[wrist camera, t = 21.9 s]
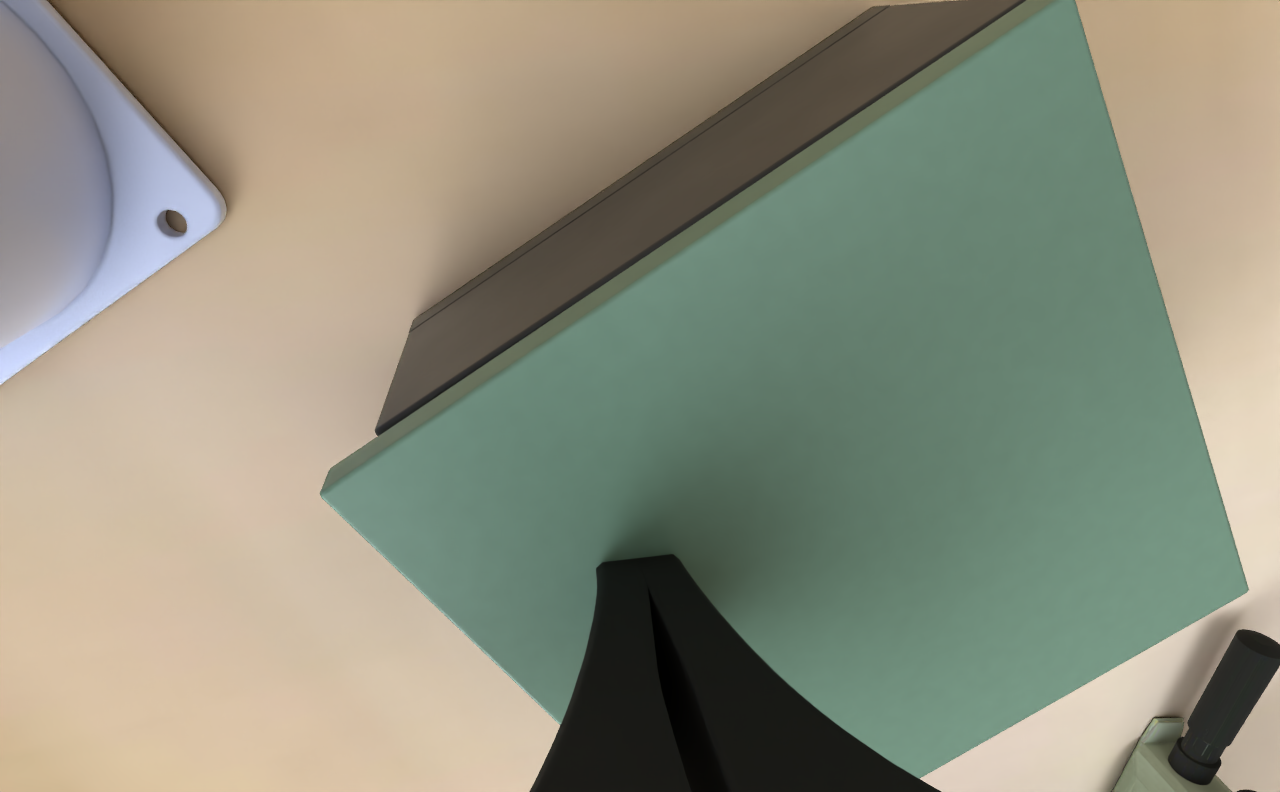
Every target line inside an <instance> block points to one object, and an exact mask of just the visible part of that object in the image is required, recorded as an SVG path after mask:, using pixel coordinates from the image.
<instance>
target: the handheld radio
mask: <svg viewBox="0 0 1280 792" xmlns="http://www.w3.org/2000/svg"><path fill="white" fill-rule="evenodd" d="M1279 666H1280V645H1279V644H1278V643H1277V642H1276V641H1274V640H1273V639H1271V638H1269V637H1267V636H1265V635H1263V634H1261V633H1258V632H1255V631H1252V630H1245V629H1242V630H1238V631H1237V633H1236V634H1235V636H1234V638H1233V640H1232V642H1231V643H1230V645H1229V647H1228V649H1227V651H1226V653H1225V654H1224V656H1223V658H1222V660H1221V662H1220V663H1219V665H1218V667H1217V669H1216V671H1215V673H1214V674H1213V676H1212V678H1211V680H1210V682H1209V683H1208V685H1207V687H1206V689H1205V691H1204V693H1203V694H1202V696H1201V698H1200V700H1199V702H1198V703H1197V705H1196V707H1195V709H1194V711H1193V713H1192V714H1191V716H1190V718H1189V720H1188V726H1189V730H1188V731H1187V733H1186V735H1185V737H1181V734H1182V731H1183V726H1184V722H1183V719H1184V718H1154V719H1153V720H1152V722H1151V723H1150V724H1149V726H1148V728H1147V729H1146V731H1145V732H1144V734H1143V735H1142V737H1141V738H1140V740H1139V742H1138V743H1137V745H1136V747H1135V749H1134V751H1133V753H1132V755H1131V757H1130V759H1129V761H1128V763H1127V765H1126V767H1125V768H1124V770H1123V772H1122V774H1121V776H1120V778H1119V780H1118V782H1117V784H1116V786H1115V788H1114V790H1113V791H1112V792H1232V791H1231V790H1230V789H1229V788H1228V787H1227V786H1226V785H1225V784H1224V783H1223V782H1222V781H1221V780H1220V779H1219V778H1218V777H1217V776H1216V775H1215V774H1216V773H1217V771H1218V769H1219V768H1220V766H1221V759H1220V756H1221V755H1222V753H1223V751H1224V749H1225V748H1226V746H1229V745H1230V744H1231V743H1232V741H1233V740H1234V738H1235V736H1236V735H1237V733H1238V732H1239V730H1240V728H1241V727H1242V725H1243V724H1244V722H1245V720H1246V719H1247V717H1248V716H1249V714H1250V713H1251V711H1252V709H1253V708H1254V706H1255V705H1256V703H1257V701H1258V700H1259V698H1260V697H1261V695H1262V693H1263V692H1264V690H1265V689H1266V687H1267V685H1268V684H1269V682H1270V681H1271V679H1272V677H1273V676H1274V674H1275V673H1276V671H1277V669H1278V668H1279ZM1237 792H1256V791H1252V790H1239V791H1237Z"/></svg>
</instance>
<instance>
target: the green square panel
mask: <svg viewBox="0 0 1280 792" xmlns="http://www.w3.org/2000/svg"><path fill="white" fill-rule="evenodd" d="M320 495H321V497H322V499H323V500H325V501H326V502H327V503H328V504H329V505H330V506H331V507H332V508H333V509H334V510H335V511H336V512H337V513H338V514H339V515H340V516H341V517H342V518H343V519H344V520H346V521H347V522H348V523H349V524H350V525H351V526H352V527H353V528H354V529H355V530H356V531H357V532H358V533H359V534H360V535H361V536H362V537H363V538H364V539H365V540H367V541H368V542H369V543H370V544H371V545H372V546H373V547H374V548H375V549H376V550H377V551H378V552H379V553H380V554H381V555H382V556H383V557H384V558H385V559H386V560H387V561H389V562H390V563H391V564H392V565H393V566H394V567H395V568H396V569H397V570H398V571H399V572H400V573H401V574H402V575H403V576H404V577H405V578H406V579H407V580H408V581H410V582H411V583H412V584H413V585H414V586H415V587H416V588H417V589H418V590H419V591H420V592H421V593H422V594H423V595H424V596H425V597H426V598H427V599H428V600H429V601H431V602H432V603H433V604H434V605H435V606H436V607H437V608H438V609H439V610H440V611H441V612H442V613H443V614H444V615H445V616H446V617H447V618H448V619H449V620H450V621H452V622H453V623H454V624H455V625H456V626H457V627H458V628H459V629H460V630H461V631H462V632H463V633H464V634H465V635H466V636H467V637H468V638H469V639H470V640H471V641H472V642H474V643H475V644H476V645H477V646H478V647H479V648H480V649H481V650H482V651H483V652H484V653H485V654H486V655H487V656H488V657H489V658H490V659H491V660H492V661H493V662H495V663H496V664H497V665H498V666H499V667H500V668H501V669H502V670H503V671H504V672H505V673H506V674H507V675H508V676H509V677H510V678H511V679H512V680H513V681H514V682H516V683H517V684H518V685H519V686H520V687H521V688H522V689H523V690H524V691H525V692H526V693H527V694H528V695H529V696H530V697H531V698H532V699H533V700H534V701H535V702H536V703H538V704H539V705H540V706H541V707H542V708H543V709H544V710H545V711H546V712H547V713H548V714H549V715H550V716H551V717H552V718H553V719H554V720H555V721H556V722H557V723H559V724H560V725H561V723H562V721H563V718H564V716H565V713H566V710H567V708H568V705H569V702H570V700H571V697H572V694H573V691H574V688H575V685H576V681H577V678H578V675H579V672H580V669H581V665H582V662H583V659H584V656H585V652H586V648H587V643H588V639H589V635H590V630H591V626H592V622H593V616H594V610H595V604H596V595H597V578H596V568H597V567H598V566H599V565H600V564H601V563H602V562H608V561H617V560H625V559H634V558H643V557H652V556H660V555H669V554H674V555H675V556H676V557H677V558H679V559H680V561H681V562H682V564H683V565H684V567H685V568H686V570H687V571H688V572H689V574H690V575H691V577H692V578H693V579H694V581H695V582H696V583H697V585H698V586H699V587H700V589H701V590H702V591H703V593H704V594H705V595H706V596H707V598H708V599H709V600H710V601H711V603H712V604H713V605H714V606H715V608H716V609H717V610H718V611H719V612H720V614H721V615H722V616H723V617H724V618H725V619H726V620H727V621H728V623H729V624H730V625H731V626H732V627H733V628H734V629H735V630H736V632H737V633H738V634H739V635H740V636H741V637H742V638H743V639H744V641H745V642H746V643H747V644H748V645H749V646H750V647H751V648H752V649H753V650H754V651H755V652H756V653H757V654H758V655H759V656H760V657H761V658H762V659H763V660H764V661H765V662H766V663H767V664H768V665H769V666H770V667H771V668H772V669H773V670H774V671H775V672H776V673H777V674H778V675H779V676H780V677H781V678H783V679H784V680H785V681H786V682H787V683H788V684H789V685H790V686H791V687H792V688H794V689H795V690H796V691H797V692H798V693H799V694H800V695H802V696H803V697H804V698H805V699H806V700H808V701H809V702H810V703H811V704H812V705H813V706H815V707H816V708H817V709H818V710H820V711H821V712H822V713H823V714H825V715H826V716H827V717H828V718H830V719H831V720H832V721H834V722H835V723H836V724H837V725H839V726H840V727H841V728H843V729H844V730H845V731H847V732H848V733H850V734H851V735H853V736H854V737H855V738H857V739H858V740H860V741H861V742H863V743H864V744H866V745H867V746H869V747H870V748H871V749H873V750H874V751H876V752H877V753H879V754H880V755H882V756H883V757H884V758H886V759H887V760H889V761H890V762H892V763H894V764H895V765H897V766H899V767H900V768H902V769H904V770H905V771H907V772H909V773H910V774H912V775H914V776H915V777H917V778H921V777H923V776H925V775H927V774H928V773H930V772H932V771H934V770H935V769H937V768H939V767H941V766H942V765H944V764H946V763H948V762H949V761H951V760H953V759H955V758H956V757H958V756H960V755H962V754H963V753H965V752H967V751H969V750H971V749H972V748H974V747H976V746H978V745H979V744H981V743H983V742H985V741H986V740H988V739H990V738H992V737H993V736H995V735H997V734H999V733H1000V732H1002V731H1004V730H1006V729H1007V728H1009V727H1011V726H1013V725H1015V724H1016V723H1018V722H1020V721H1022V720H1023V719H1025V718H1027V717H1029V716H1030V715H1032V714H1034V713H1036V712H1037V711H1039V710H1041V709H1043V708H1044V707H1046V706H1048V705H1050V704H1051V703H1053V702H1055V701H1057V700H1059V699H1060V698H1062V697H1064V696H1066V695H1067V694H1069V693H1071V692H1073V691H1074V690H1076V689H1078V688H1080V687H1081V686H1083V685H1085V684H1087V683H1088V682H1090V681H1092V680H1094V679H1096V678H1097V677H1099V676H1101V675H1103V674H1104V673H1106V672H1108V671H1110V670H1111V669H1113V668H1115V667H1117V666H1118V665H1120V664H1122V663H1124V662H1125V661H1127V660H1129V659H1131V658H1132V657H1134V656H1136V655H1138V654H1140V653H1141V652H1143V651H1145V650H1147V649H1148V648H1150V647H1152V646H1154V645H1155V644H1157V643H1159V642H1161V641H1162V640H1164V639H1166V638H1168V637H1169V636H1171V635H1173V634H1175V633H1176V632H1178V631H1180V630H1182V629H1184V628H1185V627H1187V626H1189V625H1191V624H1192V623H1194V622H1196V621H1198V620H1199V619H1201V618H1203V617H1205V616H1206V615H1208V614H1210V613H1212V612H1213V611H1215V610H1217V609H1219V608H1220V607H1222V606H1224V605H1226V604H1228V603H1229V602H1231V601H1233V600H1235V599H1236V598H1238V597H1240V596H1242V595H1243V594H1245V593H1247V592H1248V590H1249V589H1248V585H1247V582H1246V579H1245V575H1244V572H1243V568H1242V565H1241V562H1240V558H1239V555H1238V551H1237V548H1236V545H1235V541H1234V538H1233V534H1232V531H1231V528H1230V524H1229V521H1228V517H1227V514H1226V511H1225V507H1224V504H1223V501H1222V497H1221V494H1220V490H1219V487H1218V484H1217V480H1216V477H1215V473H1214V470H1213V467H1212V463H1211V460H1210V456H1209V453H1208V450H1207V446H1206V443H1205V439H1204V436H1203V433H1202V429H1201V426H1200V423H1199V419H1198V416H1197V412H1196V409H1195V406H1194V402H1193V399H1192V395H1191V392H1190V389H1189V385H1188V382H1187V378H1186V375H1185V372H1184V368H1183V365H1182V361H1181V358H1180V355H1179V351H1178V348H1177V345H1176V341H1175V338H1174V334H1173V331H1172V328H1171V324H1170V321H1169V317H1168V314H1167V311H1166V307H1165V304H1164V300H1163V297H1162V294H1161V290H1160V287H1159V284H1158V280H1157V277H1156V273H1155V270H1154V267H1153V263H1152V260H1151V256H1150V253H1149V250H1148V246H1147V243H1146V239H1145V236H1144V233H1143V229H1142V226H1141V222H1140V219H1139V216H1138V212H1137V209H1136V206H1135V202H1134V199H1133V195H1132V192H1131V189H1130V185H1129V182H1128V178H1127V175H1126V172H1125V168H1124V165H1123V161H1122V158H1121V155H1120V151H1119V148H1118V144H1117V141H1116V138H1115V134H1114V131H1113V128H1112V124H1111V121H1110V117H1109V114H1108V111H1107V107H1106V104H1105V100H1104V97H1103V94H1102V90H1101V87H1100V83H1099V80H1098V77H1097V73H1096V70H1095V66H1094V63H1093V60H1092V56H1091V53H1090V50H1089V46H1088V43H1087V39H1086V36H1085V33H1084V29H1083V26H1082V22H1081V19H1080V16H1079V12H1078V9H1077V5H1076V2H1075V0H1026V1H1025V2H1023V3H1022V4H1020V5H1019V6H1017V7H1016V8H1014V9H1013V10H1011V11H1010V12H1008V13H1007V14H1005V15H1004V16H1002V17H1001V18H999V19H998V20H997V21H995V22H994V23H992V24H991V25H989V26H988V27H986V28H985V29H983V30H982V31H980V32H979V33H977V34H976V35H974V36H973V37H971V38H970V39H968V40H967V41H965V42H964V43H962V44H961V45H959V46H958V47H956V48H955V49H953V50H952V51H950V52H949V53H947V54H946V55H944V56H943V57H942V58H940V59H939V60H937V61H936V62H934V63H933V64H931V65H930V66H928V67H927V68H925V69H924V70H922V71H921V72H919V73H918V74H916V75H915V76H913V77H912V78H910V79H909V80H907V81H906V82H904V83H903V84H901V85H900V86H898V87H897V88H895V89H894V90H892V91H891V92H889V93H888V94H886V95H885V96H884V97H882V98H881V99H879V100H878V101H876V102H875V103H873V104H872V105H870V106H869V107H867V108H866V109H864V110H863V111H861V112H860V113H858V114H857V115H855V116H854V117H852V118H851V119H849V120H848V121H846V122H845V123H843V124H842V125H840V126H839V127H837V128H836V129H834V130H833V131H831V132H830V133H828V134H827V135H826V136H824V137H823V138H821V139H820V140H818V141H817V142H815V143H814V144H812V145H811V146H809V147H808V148H806V149H805V150H803V151H802V152H800V153H799V154H797V155H796V156H794V157H793V158H791V159H790V160H788V161H787V162H785V163H784V164H782V165H781V166H779V167H778V168H776V169H775V170H773V171H772V172H770V173H769V174H768V175H766V176H765V177H763V178H762V179H760V180H759V181H757V182H756V183H754V184H753V185H751V186H750V187H748V188H747V189H745V190H744V191H742V192H741V193H739V194H738V195H736V196H735V197H733V198H732V199H730V200H729V201H727V202H726V203H724V204H723V205H721V206H720V207H718V208H717V209H715V210H714V211H712V212H711V213H710V214H708V215H707V216H705V217H704V218H702V219H701V220H699V221H698V222H696V223H695V224H693V225H692V226H690V227H689V228H687V229H686V230H684V231H683V232H681V233H680V234H678V235H677V236H675V237H674V238H672V239H671V240H669V241H668V242H666V243H665V244H663V245H662V246H660V247H659V248H657V249H656V250H654V251H653V252H652V253H650V254H649V255H647V256H646V257H644V258H643V259H641V260H640V261H638V262H637V263H635V264H634V265H632V266H631V267H629V268H628V269H626V270H625V271H623V272H622V273H620V274H619V275H617V276H616V277H614V278H613V279H611V280H610V281H608V282H607V283H605V284H604V285H602V286H601V287H599V288H598V289H596V290H595V291H594V292H592V293H591V294H589V295H588V296H586V297H585V298H583V299H582V300H580V301H579V302H577V303H576V304H574V305H573V306H571V307H570V308H568V309H567V310H565V311H564V312H562V313H561V314H559V315H558V316H556V317H555V318H553V319H552V320H550V321H549V322H547V323H546V324H544V325H543V326H541V327H540V328H539V329H537V330H536V331H534V332H533V333H531V334H530V335H528V336H527V337H525V338H524V339H522V340H521V341H519V342H518V343H516V344H515V345H513V346H512V347H510V348H509V349H507V350H506V351H504V352H503V353H501V354H500V355H498V356H497V357H495V358H494V359H492V360H491V361H489V362H488V363H486V364H485V365H483V366H482V367H481V368H479V369H478V370H476V371H475V372H473V373H472V374H470V375H469V376H467V377H466V378H464V379H463V380H461V381H460V382H458V383H457V384H455V385H454V386H452V387H451V388H449V389H448V390H446V391H445V392H443V393H442V394H440V395H439V396H437V397H436V398H434V399H433V400H431V401H430V402H428V403H427V404H425V405H424V406H423V407H421V408H420V409H418V410H417V411H415V412H414V413H412V414H411V415H409V416H408V417H406V418H405V419H403V420H402V421H400V422H399V423H397V424H396V425H394V426H393V427H391V428H390V429H388V430H387V431H385V432H384V433H382V434H381V435H379V436H378V437H376V438H375V439H373V440H372V441H370V442H369V443H367V444H366V445H365V446H363V447H362V448H360V449H359V450H357V451H356V452H354V453H353V454H351V455H350V456H348V457H347V458H345V459H344V460H342V461H341V462H339V463H338V464H336V465H335V466H333V467H332V468H330V470H329V472H328V474H327V477H326V479H325V482H324V484H323V487H322V489H321V492H320Z"/></svg>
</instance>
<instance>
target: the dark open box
mask: <svg viewBox="0 0 1280 792" xmlns="http://www.w3.org/2000/svg"><path fill="white" fill-rule="evenodd" d="M1025 1H1026V0H957V1H944V2H932V3H919V4H907V5H895V6H890V5H888V6H876V7H872V8H870V9H869V10H868V11H866V12H865V13H863V14H862V15H860V16H859V17H857V18H856V19H854V20H853V21H851V22H850V23H848V24H847V25H846V26H844V27H843V28H841V29H840V30H838V31H837V32H835V33H834V34H832V35H831V36H829V37H828V38H826V39H825V40H824V41H822V42H821V43H819V44H818V45H816V46H815V47H813V48H812V49H810V50H809V51H807V52H806V53H804V54H803V55H802V56H800V57H799V58H797V59H796V60H794V61H793V62H791V63H790V64H788V65H787V66H785V67H784V68H782V69H781V70H780V71H778V72H777V73H775V74H774V75H772V76H771V77H769V78H768V79H766V80H765V81H763V82H762V83H760V84H759V85H757V86H756V87H755V88H753V89H752V90H750V91H749V92H747V93H746V94H744V95H743V96H741V97H740V98H738V99H737V100H735V101H734V102H733V103H731V104H730V105H728V106H727V107H725V108H724V109H722V110H721V111H719V112H718V113H716V114H715V115H713V116H712V117H711V118H709V119H708V120H706V121H705V122H703V123H702V124H700V125H699V126H697V127H696V128H694V129H693V130H691V131H690V132H689V133H687V134H686V135H684V136H683V137H681V138H680V139H678V140H677V141H675V142H674V143H672V144H671V145H669V146H668V147H667V148H665V149H664V150H662V151H661V152H659V153H658V154H656V155H655V156H653V157H652V158H650V159H649V160H647V161H646V162H645V163H643V164H642V165H640V166H639V167H637V168H636V169H634V170H633V171H631V172H630V173H628V174H627V175H625V176H624V177H623V178H621V179H620V180H618V181H617V182H615V183H614V184H612V185H611V186H609V187H608V188H606V189H605V190H603V191H602V192H600V193H599V194H598V195H596V196H595V197H593V198H592V199H590V200H589V201H587V202H586V203H584V204H583V205H581V206H580V207H578V208H577V209H576V210H574V211H573V212H571V213H570V214H568V215H567V216H565V217H564V218H562V219H561V220H559V221H558V222H556V223H555V224H554V225H552V226H551V227H549V228H548V229H546V230H545V231H543V232H542V233H540V234H539V235H537V236H536V237H534V238H533V239H532V240H530V241H529V242H527V243H526V244H524V245H523V246H521V247H520V248H518V249H517V250H515V251H514V252H512V253H511V254H510V255H508V256H507V257H505V258H504V259H502V260H501V261H499V262H498V263H496V264H495V265H493V266H492V267H490V268H489V269H488V270H486V271H485V272H483V273H482V274H480V275H479V276H477V277H476V278H474V279H473V280H471V281H470V282H468V283H467V284H466V285H464V286H463V287H461V288H460V289H458V290H457V291H455V292H454V293H452V294H451V295H449V296H448V297H446V298H445V299H444V300H442V301H441V302H439V303H438V304H436V305H435V306H433V307H432V308H430V309H429V310H427V311H426V312H424V313H423V314H421V315H420V316H419V317H417V318H416V319H414V320H413V322H412V325H411V328H410V331H409V335H408V338H407V341H406V344H405V346H404V349H403V352H402V355H401V358H400V361H399V363H398V366H397V369H396V372H395V375H394V378H393V380H392V383H391V386H390V389H389V392H388V395H387V397H386V400H385V403H384V406H383V409H382V412H381V414H380V417H379V420H378V423H377V426H376V429H375V433H376V435H377V436H379V435H381V434H382V433H384V432H385V431H387V430H388V429H390V428H391V427H393V426H394V425H396V424H397V423H399V422H400V421H402V420H403V419H405V418H406V417H408V416H409V415H411V414H412V413H414V412H415V411H417V410H418V409H420V408H421V407H423V406H424V405H425V404H427V403H428V402H430V401H431V400H433V399H434V398H436V397H437V396H439V395H440V394H442V393H443V392H445V391H446V390H448V389H449V388H451V387H452V386H454V385H455V384H457V383H458V382H460V381H461V380H463V379H464V378H466V377H467V376H469V375H470V374H472V373H473V372H475V371H476V370H478V369H479V368H481V367H482V366H483V365H485V364H486V363H488V362H489V361H491V360H492V359H494V358H495V357H497V356H498V355H500V354H501V353H503V352H504V351H506V350H507V349H509V348H510V347H512V346H513V345H515V344H516V343H518V342H519V341H521V340H522V339H524V338H525V337H527V336H528V335H530V334H531V333H533V332H534V331H536V330H537V329H539V328H540V327H541V326H543V325H544V324H546V323H547V322H549V321H550V320H552V319H553V318H555V317H556V316H558V315H559V314H561V313H562V312H564V311H565V310H567V309H568V308H570V307H571V306H573V305H574V304H576V303H577V302H579V301H580V300H582V299H583V298H585V297H586V296H588V295H589V294H591V293H592V292H594V291H595V290H596V289H598V288H599V287H601V286H602V285H604V284H605V283H607V282H608V281H610V280H611V279H613V278H614V277H616V276H617V275H619V274H620V273H622V272H623V271H625V270H626V269H628V268H629V267H631V266H632V265H634V264H635V263H637V262H638V261H640V260H641V259H643V258H644V257H646V256H647V255H649V254H650V253H652V252H653V251H654V250H656V249H657V248H659V247H660V246H662V245H663V244H665V243H666V242H668V241H669V240H671V239H672V238H674V237H675V236H677V235H678V234H680V233H681V232H683V231H684V230H686V229H687V228H689V227H690V226H692V225H693V224H695V223H696V222H698V221H699V220H701V219H702V218H704V217H705V216H707V215H708V214H710V213H711V212H712V211H714V210H715V209H717V208H718V207H720V206H721V205H723V204H724V203H726V202H727V201H729V200H730V199H732V198H733V197H735V196H736V195H738V194H739V193H741V192H742V191H744V190H745V189H747V188H748V187H750V186H751V185H753V184H754V183H756V182H757V181H759V180H760V179H762V178H763V177H765V176H766V175H768V174H769V173H770V172H772V171H773V170H775V169H776V168H778V167H779V166H781V165H782V164H784V163H785V162H787V161H788V160H790V159H791V158H793V157H794V156H796V155H797V154H799V153H800V152H802V151H803V150H805V149H806V148H808V147H809V146H811V145H812V144H814V143H815V142H817V141H818V140H820V139H821V138H823V137H824V136H826V135H827V134H828V133H830V132H831V131H833V130H834V129H836V128H837V127H839V126H840V125H842V124H843V123H845V122H846V121H848V120H849V119H851V118H852V117H854V116H855V115H857V114H858V113H860V112H861V111H863V110H864V109H866V108H867V107H869V106H870V105H872V104H873V103H875V102H876V101H878V100H879V99H881V98H882V97H884V96H885V95H886V94H888V93H889V92H891V91H892V90H894V89H895V88H897V87H898V86H900V85H901V84H903V83H904V82H906V81H907V80H909V79H910V78H912V77H913V76H915V75H916V74H918V73H919V72H921V71H922V70H924V69H925V68H927V67H928V66H930V65H931V64H933V63H934V62H936V61H937V60H939V59H940V58H942V57H943V56H944V55H946V54H947V53H949V52H950V51H952V50H953V49H955V48H956V47H958V46H959V45H961V44H962V43H964V42H965V41H967V40H968V39H970V38H971V37H973V36H974V35H976V34H977V33H979V32H980V31H982V30H983V29H985V28H986V27H988V26H989V25H991V24H992V23H994V22H995V21H997V20H998V19H999V18H1001V17H1002V16H1004V15H1005V14H1007V13H1008V12H1010V11H1011V10H1013V9H1014V8H1016V7H1017V6H1019V5H1020V4H1022V3H1023V2H1025Z"/></svg>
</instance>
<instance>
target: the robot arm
mask: <svg viewBox="0 0 1280 792" xmlns="http://www.w3.org/2000/svg"><path fill="white" fill-rule="evenodd" d="M167 210H174V211H177V212H178V213H180V214H181V215H183V217H184V218H185V220H186V222H187V231H186V232H185V233H182V232H177V231H175V230H174V229H172V228H171V227H170V226H169V225H168V223H167V221H166V212H167ZM226 212H227V208H226V203H225V200H224V198H223V196H222V195H221V193H220V192H219V190H218V189H217V188H216V187H215V186H214V185H213V184H212V183H211V181H210V180H209V179H208V178H207V177H206V176H205V175H204V174H203V173H202V171H201V170H200V169H199V168H198V167H197V166H196V165H195V164H194V163H193V162H192V160H191V159H190V158H189V157H188V156H187V155H186V154H185V153H184V152H183V150H182V149H181V148H180V147H179V146H178V145H177V144H176V143H175V142H174V140H173V139H172V138H171V137H170V136H169V135H168V134H167V133H166V132H165V131H164V129H163V128H162V127H161V126H160V125H159V124H158V123H157V122H156V121H155V119H154V118H153V117H152V116H151V115H150V114H149V113H148V112H147V111H146V109H145V108H144V107H143V106H142V105H141V104H140V103H139V102H138V101H137V100H136V98H135V97H134V96H133V95H132V94H131V93H130V92H129V91H128V90H127V88H126V87H125V86H124V85H123V84H122V83H121V82H120V81H119V80H118V78H117V77H116V76H115V75H114V74H113V73H112V72H111V71H110V70H109V69H108V67H107V66H106V65H105V64H104V63H103V62H102V61H101V60H100V59H99V57H98V56H97V55H96V54H95V53H94V52H93V51H92V50H91V49H90V47H89V46H88V45H87V44H86V43H85V42H84V41H83V40H82V39H81V38H80V36H79V35H78V34H77V33H76V32H75V31H74V30H73V29H72V28H71V26H70V25H69V24H68V23H67V22H66V21H65V20H64V19H63V18H62V16H61V15H60V14H59V13H58V12H57V11H56V10H55V9H54V8H53V6H52V5H51V4H50V3H49V2H48V1H47V0H0V385H1V384H2V383H4V382H5V381H6V380H8V379H9V378H11V377H12V376H13V375H15V374H16V373H17V372H19V371H20V370H22V369H23V368H24V367H26V366H27V365H28V364H30V363H31V362H33V361H34V360H35V359H37V358H38V357H39V356H41V355H42V354H44V353H45V352H46V351H48V350H49V349H50V348H52V347H53V346H55V345H56V344H57V343H59V342H60V341H62V340H63V339H64V338H66V337H67V336H68V335H70V334H71V333H73V332H74V331H75V330H77V329H78V328H79V327H81V326H82V325H84V324H85V323H86V322H88V321H89V320H90V319H92V318H93V317H95V316H96V315H97V314H99V313H100V312H102V311H103V310H104V309H106V308H107V307H108V306H110V305H111V304H113V303H114V302H115V301H117V300H118V299H119V298H121V297H122V296H124V295H125V294H126V293H128V292H129V291H130V290H132V289H133V288H135V287H136V286H137V285H139V284H140V283H141V282H143V281H144V280H146V279H147V278H148V277H150V276H151V275H153V274H154V273H155V272H157V271H158V270H159V269H161V268H162V267H164V266H165V265H166V264H168V263H169V262H170V261H172V260H173V259H175V258H176V257H177V256H179V255H180V254H181V253H183V252H184V251H186V250H187V249H188V248H190V247H191V246H192V245H194V244H195V243H197V242H198V241H199V240H201V239H202V238H204V237H205V236H206V235H208V234H209V233H210V232H212V231H213V230H215V229H216V228H217V227H219V226H220V224H221V223H222V222H223V221H224V220H225V216H226ZM596 578H597V595H596V604H595V610H594V616H593V622H592V626H591V630H590V635H589V639H588V643H587V648H586V652H585V656H584V659H583V662H582V665H581V669H580V672H579V675H578V678H577V681H576V685H575V688H574V691H573V694H572V697H571V700H570V702H569V705H568V708H567V710H566V713H565V716H564V718H563V721H562V723H561V726H560V728H559V730H558V733H557V735H556V738H555V740H554V742H553V744H552V747H551V749H550V751H549V753H548V755H547V757H546V759H545V762H544V764H543V766H542V768H541V770H540V772H539V774H538V776H537V778H536V780H535V782H534V784H533V786H532V788H531V790H530V792H941V791H939V790H937V789H936V788H934V787H932V786H930V785H929V784H927V783H925V782H924V781H922V780H920V779H919V778H917V777H915V776H914V775H912V774H910V773H909V772H907V771H905V770H904V769H902V768H900V767H899V766H897V765H895V764H894V763H892V762H890V761H889V760H887V759H886V758H884V757H883V756H882V755H880V754H879V753H877V752H876V751H874V750H873V749H871V748H870V747H869V746H867V745H866V744H864V743H863V742H861V741H860V740H858V739H857V738H855V737H854V736H853V735H851V734H850V733H848V732H847V731H845V730H844V729H843V728H841V727H840V726H839V725H837V724H836V723H835V722H834V721H832V720H831V719H830V718H828V717H827V716H826V715H825V714H823V713H822V712H821V711H820V710H818V709H817V708H816V707H815V706H813V705H812V704H811V703H810V702H809V701H808V700H806V699H805V698H804V697H803V696H802V695H800V694H799V693H798V692H797V691H796V690H795V689H794V688H792V687H791V686H790V685H789V684H788V683H787V682H786V681H785V680H784V679H783V678H781V677H780V676H779V675H778V674H777V673H776V672H775V671H774V670H773V669H772V668H771V667H770V666H769V665H768V664H767V663H766V662H765V661H764V660H763V659H762V658H761V657H760V656H759V655H758V654H757V653H756V652H755V651H754V650H753V649H752V648H751V647H750V646H749V645H748V644H747V643H746V642H745V641H744V639H743V638H742V637H741V636H740V635H739V634H738V633H737V632H736V630H735V629H734V628H733V627H732V626H731V625H730V624H729V623H728V621H727V620H726V619H725V618H724V617H723V616H722V615H721V614H720V612H719V611H718V610H717V609H716V608H715V606H714V605H713V604H712V603H711V601H710V600H709V599H708V598H707V596H706V595H705V594H704V593H703V591H702V590H701V589H700V587H699V586H698V585H697V583H696V582H695V581H694V579H693V578H692V577H691V575H690V574H689V572H688V571H687V570H686V568H685V567H684V565H683V564H682V562H681V561H680V559H679V558H677V557H676V556H675V555H674V554H669V555H660V556H652V557H643V558H634V559H625V560H617V561H608V562H602V563H601V564H600V565H599V566H598V567H597V568H596Z"/></svg>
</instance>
